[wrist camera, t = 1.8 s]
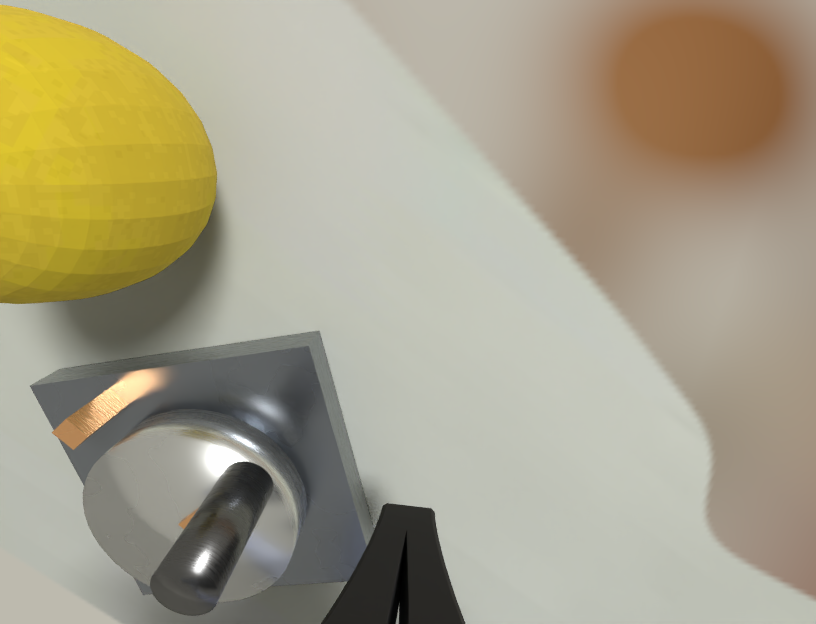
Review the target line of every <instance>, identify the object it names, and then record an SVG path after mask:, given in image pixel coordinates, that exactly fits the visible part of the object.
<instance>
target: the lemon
mask: <svg viewBox="0 0 816 624" xmlns="http://www.w3.org/2000/svg"><path fill="white" fill-rule="evenodd" d="M216 183H217V171H216V165H215V160H214V155H213V149H212V146H211V144H210V141H209V139H208V136H207V134H206V131H205V129H204V127H203V124H202V122H201V120H200V119H199V117H198V116H197V114H196V113H195V111H194V110H193V109H192V107H191V106H190V104H189V103H188V101H187V100H186V98H185V97H184V96H183V94H182V93H181V92H180V91H179V90H178V89H177V88H176V87H175V86H174V85H173V84H172V83H171V82H170V81H169V80H168V79H167V78H165V77H164V76H163V75H162V74H161V73H160V72H159V71H158V70H157V69H156V68H155V67H153V66H152V65H151V64H150V63H149V62H147V61H145V60H144V59H142V58H141V57H139V56H138V55H136V54H134V53H133V52H131V51H129V50H128V49H126V48H124V47H123V46H121V45H119V44H118V43H116V42H114V41H113V40H111V39H109V38H108V37H106V36H104V35H102V34H100V33H98V32H96V31H93V30H91V29H88V28H86V27H83V26H80V25H77V24H74V23H71V22H68V21H65V20H61V19H58V18H55V17H52V16H48V15H45V14H42V13H38V12H35V11H31V10H27V9H23V8H17V7H12V6H7V5H0V303H12V304H26V303H43V302H56V301H67V300H76V299H84V298H90V297H95V296H99V295H103V294H107V293H111V292H114V291H116V290H119V289H122V288H125V287H127V286H130V285H133V284H135V283H138V282H141V281H143V280H146V279H148V278H150V277H152V276H154V275H156V274H158V273H159V272H161V271H162V270H164V269H165V268H166V267H168V266H169V265H170V264H171V263H173V262H174V261H175V260H177V259H178V258H179V257H180V256H182V255H183V254H184V253H185V252H186V251H188V250H189V249H190V248H191V246H192V245H193V244H194V242H195V241H196V240H197V238H198V237H199V235H200V234H201V232H202V231H203V229H204V228H205V226H206V225H207V222H208V220H209V217H210V214H211V211H212V208H213V205H214V202H215V198H216Z"/></svg>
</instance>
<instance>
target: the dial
mask: <svg viewBox="0 0 816 624" xmlns="http://www.w3.org/2000/svg"><path fill="white" fill-rule="evenodd" d="M83 507H84V513H85V516H86V520H87V523H88V525H89V527H90V530H91V532H92V534H93V536H94V537H95V539H96V540H97V542H98V543H99V545H100V546H101V547H102V549H103V550H104V551H105V552H106V554H107V555H108V556H109V557H110V558H111V559H112V560H113V561H114V562H115V563H116V564H117V565H119V566H120V567H121V568H122V569H123V570H125V571H126V572H127V573H129V574H130V575H132V576H133V577H134V578H136V579H137V580H139V581H141V582H143V583H144V584H146V585H148V586H150V588H151V591H152V593H153V595H154V596H155V598H156V599H157V600H158V601H159V602H160V603H161V604H162V605H163V606H165V607H166V608H168V609H170V610H172V611H174V612H177V613H180V614H184V615H191V616H196V615H202V614H206V613H208V612H210V611H211V610H213V608H214V607H215V606H216V604H217V602H230V601H237V600H241V599H245V598H248V597H251V596H254V595H256V594H258V593H260V592H262V591H264V590H266V589H267V588H268V587H270V586H271V585H273V584H274V583H275V582H276V581H277V580H278V579H279V578H280V577H281V575H282V574H283V573H284V571H285V570H286V568H287V566H288V564H289V561H290V559H291V556H292V554H293V551H294V548H295V546H296V543H297V540H298V538H299V535H300V532H301V530H302V527H303V524H304V521H305V517H306V511H307V499H306V492H305V488H304V484H303V481H302V479H301V476H300V474H299V472H298V470H297V469H296V467H295V465H294V463H293V462H292V461H291V459H290V458H289V457H288V455H287V454H286V453H285V452H284V451H283V450H282V449H281V448H280V447H279V446H278V445H277V443H275V442H274V441H273V440H272V439H270V438H269V437H268V436H267V435H266V434H264V433H263V432H261V431H259V430H258V429H256V428H255V427H253V426H251V425H249V424H247V423H245V422H244V421H241V420H239V419H236V418H234V417H231V416H229V415H225V414H222V413H218V412H214V411H208V410H202V409H178V410H171V411H166V412H162V413H159V414H156V415H153V416H151V417H149V418H147V419H145V420H144V421H142V422H141V423H139V424H138V425H137V426H135V427H134V428H133V429H132V430H131V431H129V432H128V433H127V434H126V435H125V436H124V437H123V438H122V439H120V440H119V441H118V442H117V443H116V444H115V445H114V446H113V447H112V448H110V449H109V450H108V451H107V452H106V453H105V454H104V455H103V456H101V458H100V459H99V460H98V461H97V462H96V463H95V464H94V465H93V467H92V468H91V470H90V472H89V473H88V476H87V478H86V481H85V485H84V490H83Z"/></svg>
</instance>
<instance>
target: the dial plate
mask: <svg viewBox="0 0 816 624" xmlns="http://www.w3.org/2000/svg"><path fill="white" fill-rule="evenodd" d="M30 387H31V389H32V391H33V393H34V394H35V396H36V398H37V400H38V402H39V404H40V406H41V407H42V409H43V411H44V413H45V415H46V417H47V418H48V420H49V422H50V424H51V426H52V428H53V429H54V431H53V432H52V433H53V434H54V435H55V436H57V437H58V439H59V440H60V442H61V444H62V446H63V448H64V450H65V452H66V453H67V455H68V457H69V459H70V461H71V463H72V464H73V466H74V468H75V470H76V472H77V474H78V475H79V477H80V479H81V481H82V483H83V485H85V481H86V478H87V476H88V473H89V472H90V470H91V468H92V467H93V465H94V464H95V463H96V462H97V461H98V460H99V459H100V458H101V456H103V455H104V454H105V453H106V452H107V451H108V450H109V449H110V448H112V447H113V446H114V445H115V444H116V443H117V442H118V441H119V440H120V439H122V438H123V437H124V436H125V435H126V434H127V433H128V432H129V431H131V430H132V429H133V428H134V427H135V426H137V425H138V424H139V423H141V422H142V421H144V420H145V419H147V418H149V417H151V416H153V415H156V414H159V413H162V412H166V411H171V410H178V409H202V410H208V411H214V412H218V413H222V414H225V415H229V416H231V417H234V418H236V419H239V420H241V421H244V422H245V423H247V424H249V425H251V426H253V427H255V428H256V429H258V430H259V431H261V432H263V433H264V434H266V435H267V436H268V437H269V438H270V439H272V440H273V441H274V442H275V443H277V445H278V446H279V447H280V448H281V449H282V450H283V451H284V452H285V453H286V454H287V455H288V457H289V458H290V459H291V461H292V462H293V463H294V465H295V467H296V469H297V470H298V472H299V474H300V476H301V479H302V481H303V484H304V488H305V492H306V499H307V511H306V517H305V521H304V524H303V527H302V530H301V532H300V535H299V538H298V540H297V543H296V546H295V548H294V551H293V554H292V556H291V559H290V561H289V564H288V566H287V568H286V570H285V571H284V573H283V574H282V575H281V577H280V578H279V579H278V580H277V581H276V582H275V583H274V584H273V585H271V586H282V585H297V584H312V583H328V582H343V581H348V580H349V579H350V577H351V575H352V573H353V572H354V570H355V568H356V566H357V564H358V562H359V560H360V559H361V557H362V555H363V553H364V551H365V549H366V547H367V545H368V543H369V541H370V539H371V536H372V534H373V532H374V528H373V524H372V521H371V517H370V513H369V510H368V506H367V503H366V499H365V495H364V492H363V488H362V484H361V481H360V477H359V473H358V470H357V466H356V463H355V459H354V455H353V452H352V448H351V444H350V441H349V437H348V434H347V430H346V426H345V423H344V419H343V415H342V412H341V408H340V405H339V401H338V397H337V394H336V390H335V386H334V383H333V379H332V375H331V372H330V368H329V365H328V361H327V357H326V354H325V350H324V346H323V343H322V339H321V336H320V332H319V331H315V332H308V333H301V334H295V335H288V336H281V337H274V338H268V339H261V340H254V341H247V342H240V343H234V344H227V345H220V346H213V347H207V348H200V349H193V350H186V351H179V352H173V353H166V354H159V355H152V356H146V357H139V358H132V359H125V360H119V361H112V362H105V363H98V364H91V365H85V366H78V367H71V368H64V369H59V370H57V371H55V372H53V373H52V374H50V375H48V376H46V377H45V378H43V379H41V380H39V381H38V382H36V383H34V384H32V385H31V386H30ZM134 579H135V580H136V582H137V584H138V586H139V588H140V590H141V592H142V593H143V595H145V594H153V593H152V591H151V588H150V586H148V585H146V584H144V583H143V582H141V581H139V580H137V579H136V578H134Z"/></svg>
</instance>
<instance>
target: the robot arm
mask: <svg viewBox="0 0 816 624" xmlns="http://www.w3.org/2000/svg"><path fill="white" fill-rule="evenodd" d="M398 607H399V624H465V621H464V619H463V616H462V613H461V611H460V608H459V605H458V603H457V600H456V597H455V594H454V591H453V588H452V585H451V582H450V579H449V575H448V572H447V569H446V566H445V562H444V559H443V555H442V551H441V547H440V543H439V538H438V534H437V528H436V522H435V512H434V511H433V510H432V509H431V508H423V507H414V506H406V505H397V504H389V503H387V504H385V505H384V506H383V507H382V510H381V514H380V517H379V520H378V522H377V525H376V527H375V530H374V532H373V534H372V536H371V539H370V541H369V543H368V545H367V547H366V549H365V551H364V553H363V555H362V557H361V559H360V560H359V562H358V564H357V566H356V568H355V570H354V572H353V573H352V575H351V577H350V579H349V580H348V582H347V584H346V585H345V587H344V589H343V590H342V592H341V594H340V595H339V597H338V599H337V600H336V602H335V603H334V605H333V606H332V608H331V610H330V611H329V613H328V614H327V616H326V617H325V619H324V620H323V622H322V623H321V624H396V618H397V613H398Z"/></svg>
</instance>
